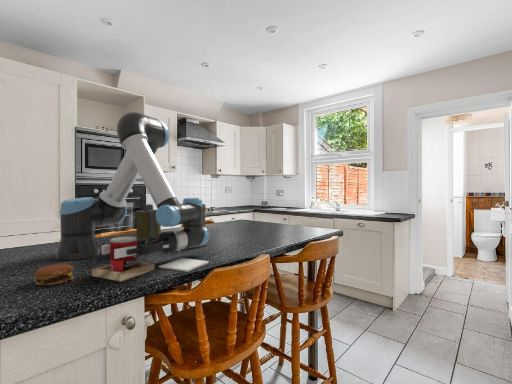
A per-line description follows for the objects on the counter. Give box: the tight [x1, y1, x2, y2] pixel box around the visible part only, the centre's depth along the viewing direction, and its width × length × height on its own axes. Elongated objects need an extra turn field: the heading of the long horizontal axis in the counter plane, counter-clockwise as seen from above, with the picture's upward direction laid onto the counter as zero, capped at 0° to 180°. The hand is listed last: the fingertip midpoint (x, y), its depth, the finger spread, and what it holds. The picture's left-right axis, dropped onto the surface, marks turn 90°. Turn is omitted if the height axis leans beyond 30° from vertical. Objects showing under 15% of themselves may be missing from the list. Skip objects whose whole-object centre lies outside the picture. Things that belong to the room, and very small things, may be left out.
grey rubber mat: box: [158, 257, 209, 273], centre depth 100 cm, size 12×12×1 cm
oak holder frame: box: [91, 260, 155, 282], centre depth 91 cm, size 13×13×2 cm
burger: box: [33, 263, 74, 286], centre depth 83 cm, size 10×9×5 cm
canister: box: [135, 203, 162, 240], centre depth 125 cm, size 11×10×20 cm
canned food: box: [109, 236, 138, 273], centre depth 91 cm, size 8×8×11 cm
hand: (108, 252), depth 87 cm, fingers closed on canned food, 8 cm apart
